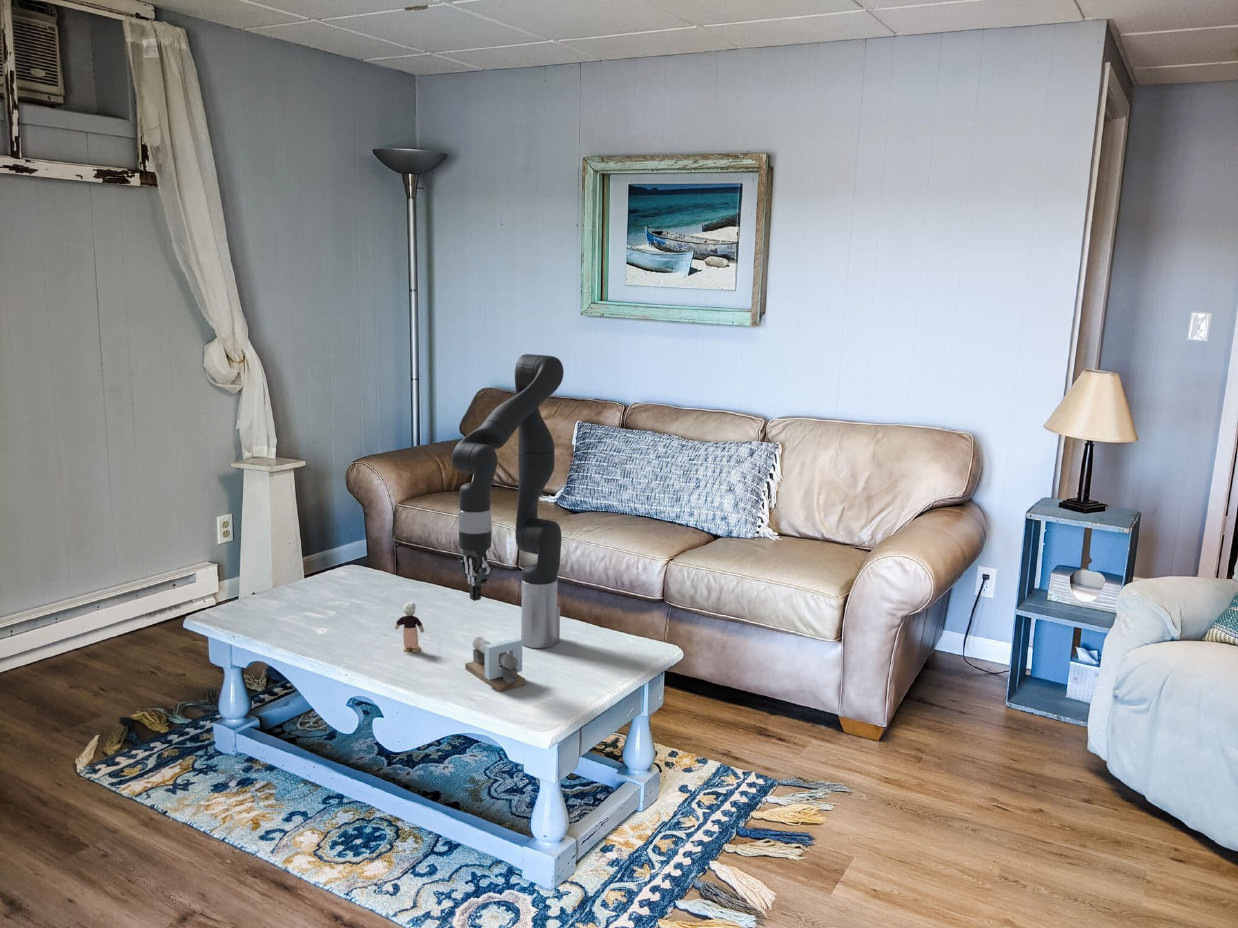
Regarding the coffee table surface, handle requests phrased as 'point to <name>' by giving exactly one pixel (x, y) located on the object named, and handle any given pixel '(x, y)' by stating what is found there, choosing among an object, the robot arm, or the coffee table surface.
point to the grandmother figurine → (410, 628)
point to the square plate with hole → (493, 653)
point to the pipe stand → (505, 659)
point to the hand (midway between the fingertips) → (475, 599)
